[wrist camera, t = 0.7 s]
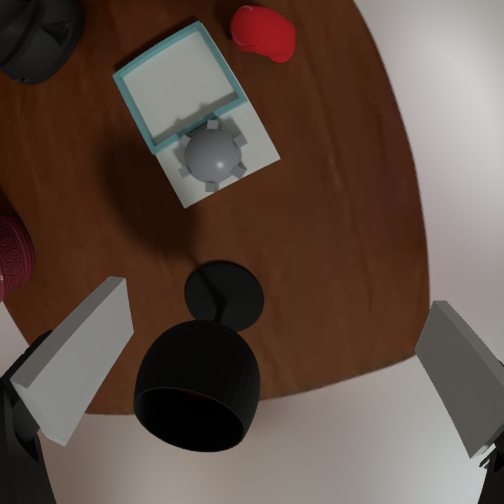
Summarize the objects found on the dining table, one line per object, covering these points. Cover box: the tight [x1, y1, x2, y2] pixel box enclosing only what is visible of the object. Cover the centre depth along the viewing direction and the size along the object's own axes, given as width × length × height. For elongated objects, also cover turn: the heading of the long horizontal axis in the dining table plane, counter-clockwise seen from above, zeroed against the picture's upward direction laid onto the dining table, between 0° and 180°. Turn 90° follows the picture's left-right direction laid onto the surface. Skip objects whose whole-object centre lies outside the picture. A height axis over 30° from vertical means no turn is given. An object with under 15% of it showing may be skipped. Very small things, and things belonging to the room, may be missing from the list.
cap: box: [230, 5, 296, 63], centre depth 23 cm, size 8×6×6 cm
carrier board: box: [112, 21, 280, 208], centre depth 27 cm, size 19×12×4 cm, turn 27°
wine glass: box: [133, 262, 264, 452], centre depth 28 cm, size 10×10×20 cm
